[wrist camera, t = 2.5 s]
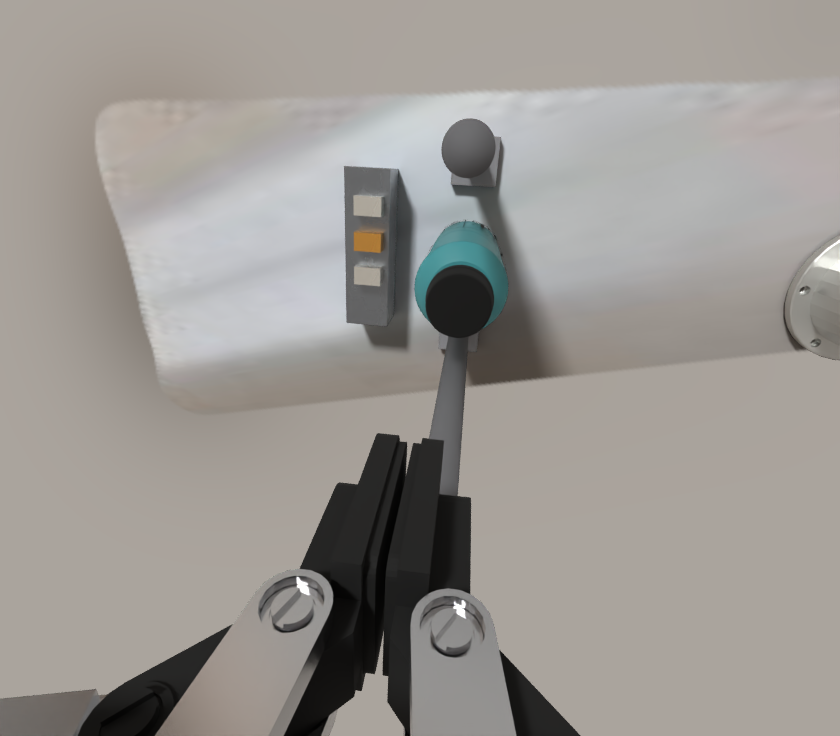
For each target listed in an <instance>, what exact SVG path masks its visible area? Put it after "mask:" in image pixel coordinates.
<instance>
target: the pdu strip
mask: <svg viewBox="0 0 840 736" xmlns="http://www.w3.org/2000/svg"><path fill="white" fill-rule="evenodd" d="M344 181H345V246H346V311H347V323H355V324H366V325H377V326H387V325H388V324H389V322H390V320H391V319H392V317H393V315H394V299H395V266H396V233H397V200H398V169H388V168H371V167H352V166H344Z"/></svg>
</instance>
